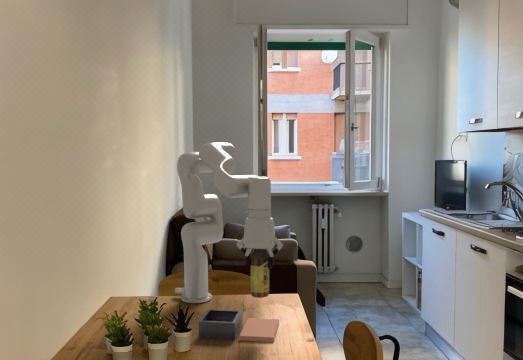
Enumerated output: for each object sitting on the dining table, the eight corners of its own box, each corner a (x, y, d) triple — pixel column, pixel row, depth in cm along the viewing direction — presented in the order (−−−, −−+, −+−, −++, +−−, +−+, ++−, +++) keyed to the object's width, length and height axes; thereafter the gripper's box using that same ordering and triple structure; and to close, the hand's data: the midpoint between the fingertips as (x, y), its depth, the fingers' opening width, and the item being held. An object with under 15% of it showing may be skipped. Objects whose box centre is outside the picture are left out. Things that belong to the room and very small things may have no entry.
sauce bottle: (267, 299, 156) (267, 238, 154) (248, 298, 157) (248, 238, 156) (271, 293, 162) (270, 235, 161) (253, 292, 163) (252, 234, 162)
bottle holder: (198, 337, 155) (198, 321, 155) (208, 324, 167) (208, 309, 167) (235, 339, 154) (234, 323, 153) (241, 326, 165) (241, 310, 165)
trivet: (239, 340, 153) (239, 335, 153) (248, 322, 169) (248, 318, 169) (273, 342, 152) (273, 337, 152) (279, 323, 168) (279, 319, 167)
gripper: (231, 215, 155) (232, 269, 156) (284, 216, 153) (284, 271, 154) (236, 212, 163) (236, 264, 164) (286, 212, 160) (286, 265, 161)
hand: (259, 267), depth 159 cm, fingers closed on sauce bottle, 6 cm apart
